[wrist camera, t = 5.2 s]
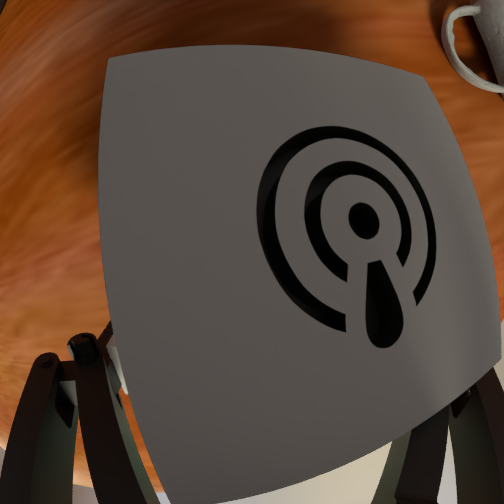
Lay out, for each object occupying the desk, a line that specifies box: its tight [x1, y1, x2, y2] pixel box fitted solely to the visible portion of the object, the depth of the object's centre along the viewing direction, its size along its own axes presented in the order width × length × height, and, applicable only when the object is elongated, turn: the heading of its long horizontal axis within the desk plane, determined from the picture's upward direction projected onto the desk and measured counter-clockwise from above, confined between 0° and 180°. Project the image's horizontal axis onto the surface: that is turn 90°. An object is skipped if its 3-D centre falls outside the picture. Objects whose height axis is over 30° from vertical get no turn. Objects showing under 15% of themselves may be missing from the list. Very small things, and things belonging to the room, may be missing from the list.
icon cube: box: [98, 45, 501, 504], centre depth 10 cm, size 10×10×10 cm
